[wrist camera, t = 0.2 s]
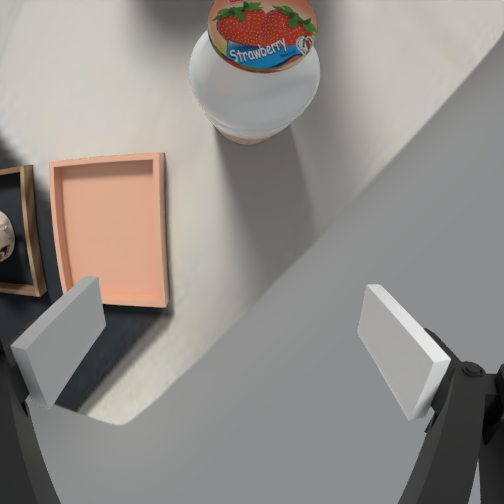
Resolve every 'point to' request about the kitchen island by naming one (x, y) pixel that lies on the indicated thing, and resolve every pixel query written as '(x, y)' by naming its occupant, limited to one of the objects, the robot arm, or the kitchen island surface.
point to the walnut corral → (28, 237)
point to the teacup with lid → (6, 237)
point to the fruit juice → (255, 66)
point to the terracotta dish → (112, 226)
